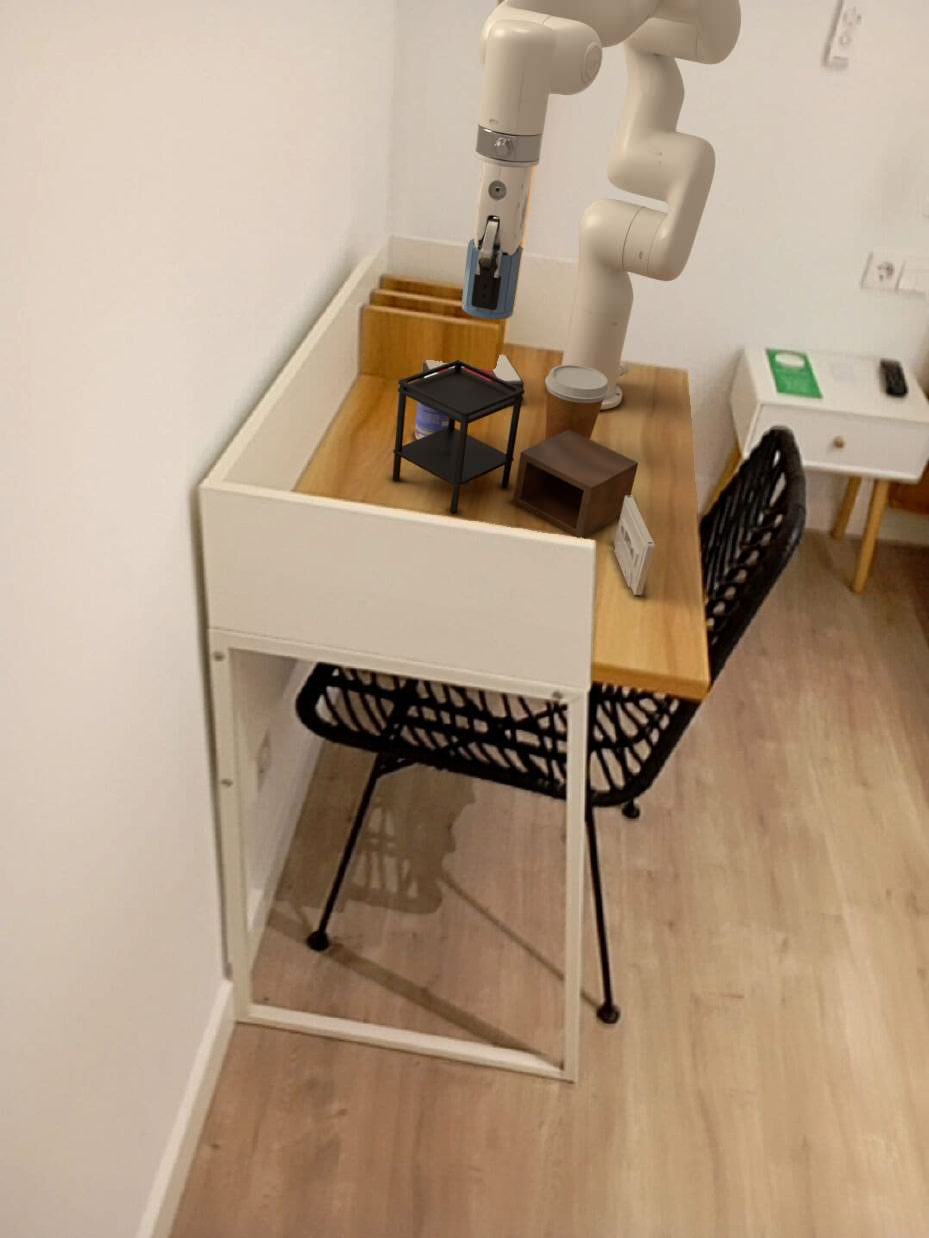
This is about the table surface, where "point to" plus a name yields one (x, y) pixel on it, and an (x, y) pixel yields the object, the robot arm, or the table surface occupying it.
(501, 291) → the blue cup
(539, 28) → the robot arm
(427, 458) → the tray
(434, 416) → the pill bottle
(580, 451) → the shelf
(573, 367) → the disposable coffee cup
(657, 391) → the table surface
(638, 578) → the cassette
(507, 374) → the calculator
